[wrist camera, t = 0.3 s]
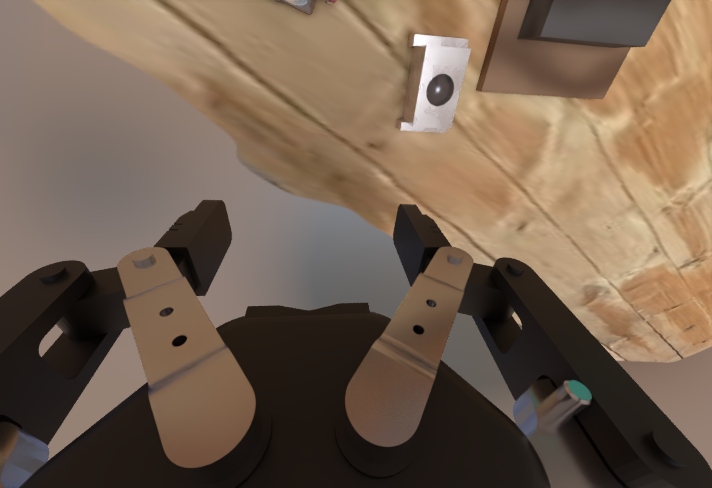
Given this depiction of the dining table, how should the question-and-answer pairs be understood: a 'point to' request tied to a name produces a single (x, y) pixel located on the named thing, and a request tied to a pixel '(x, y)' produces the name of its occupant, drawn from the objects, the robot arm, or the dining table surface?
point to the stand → (565, 45)
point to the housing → (433, 82)
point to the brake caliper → (305, 4)
